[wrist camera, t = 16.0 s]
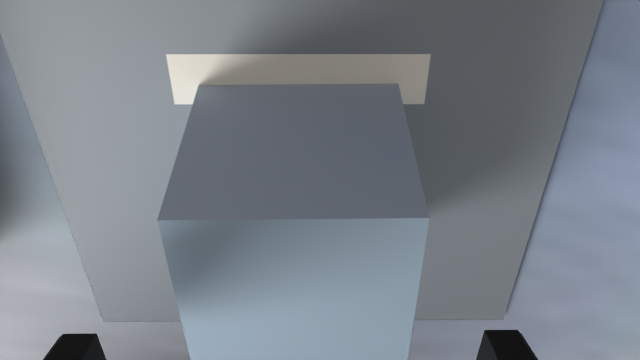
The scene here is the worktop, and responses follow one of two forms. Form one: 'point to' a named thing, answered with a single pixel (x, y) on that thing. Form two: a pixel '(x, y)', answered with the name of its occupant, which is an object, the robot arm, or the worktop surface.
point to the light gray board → (301, 68)
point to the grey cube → (296, 223)
